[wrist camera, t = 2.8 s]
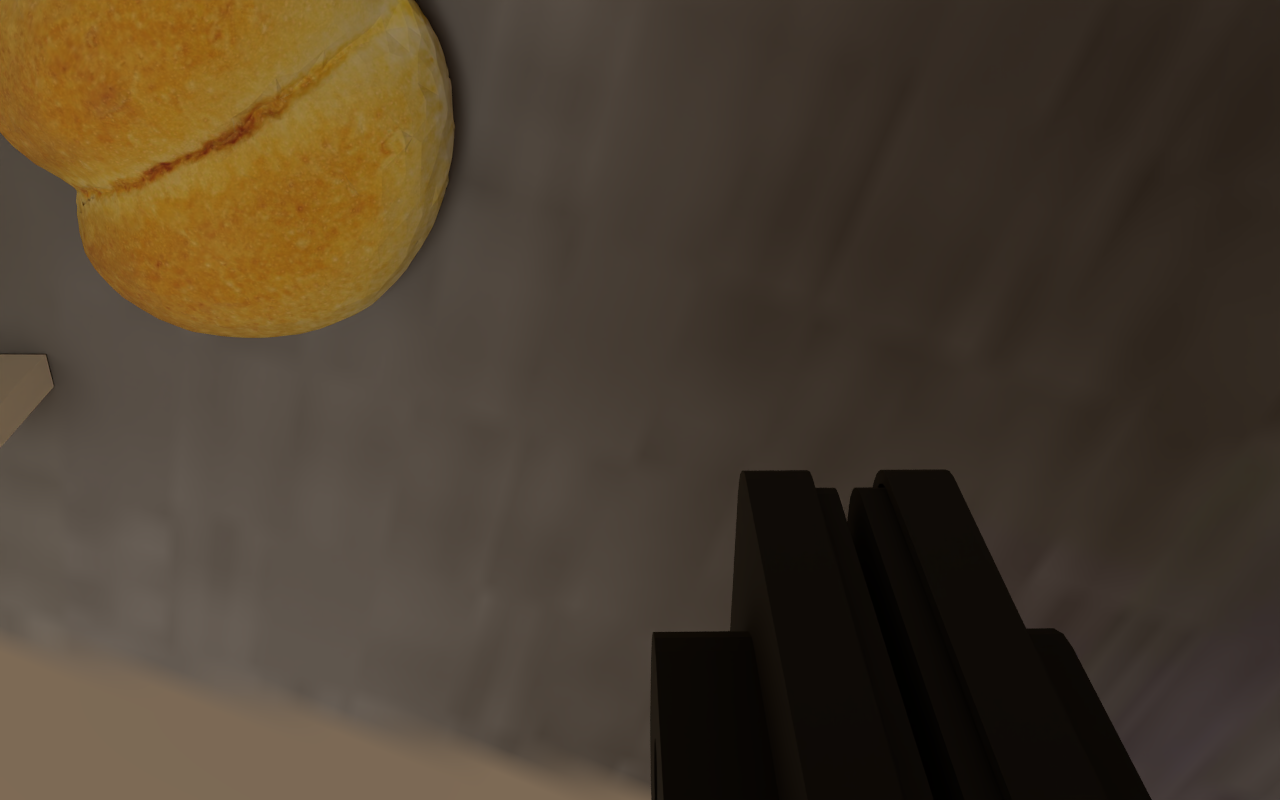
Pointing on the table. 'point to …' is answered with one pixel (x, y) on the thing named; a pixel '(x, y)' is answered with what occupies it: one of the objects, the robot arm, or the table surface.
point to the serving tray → (21, 389)
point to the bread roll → (236, 148)
